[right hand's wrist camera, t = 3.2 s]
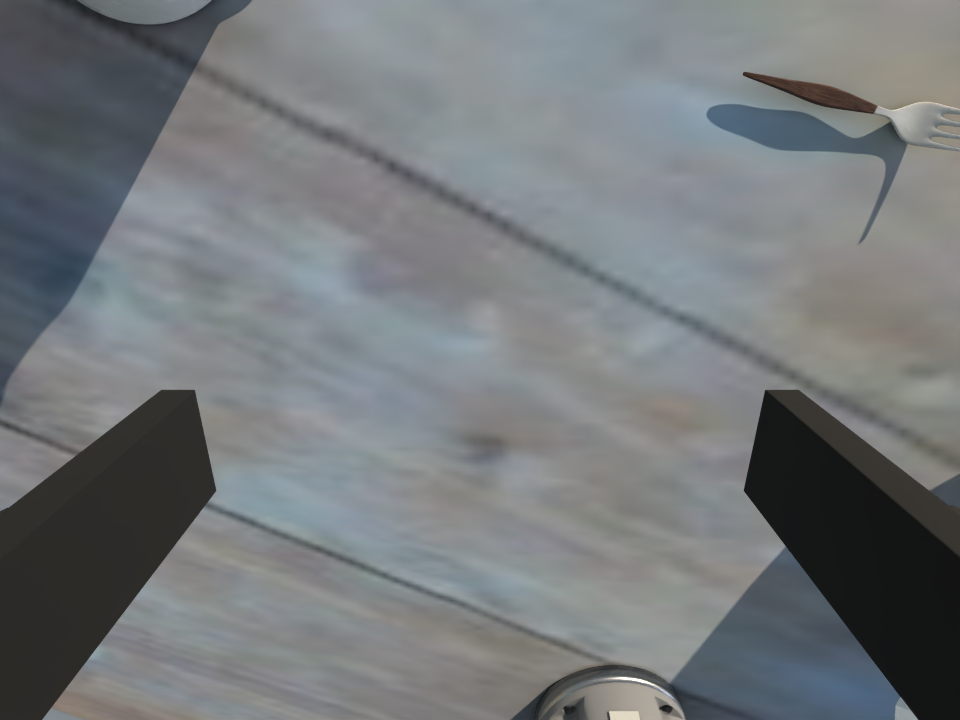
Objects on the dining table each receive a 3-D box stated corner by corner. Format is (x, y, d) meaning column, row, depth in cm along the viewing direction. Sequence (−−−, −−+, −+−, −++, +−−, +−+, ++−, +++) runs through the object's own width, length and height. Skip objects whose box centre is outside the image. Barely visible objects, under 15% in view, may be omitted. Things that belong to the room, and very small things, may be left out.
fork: (748, 51, 34) (763, 46, 32) (974, 115, 36) (1001, 113, 34) (731, 96, 35) (745, 93, 33) (953, 156, 37) (978, 157, 35)
